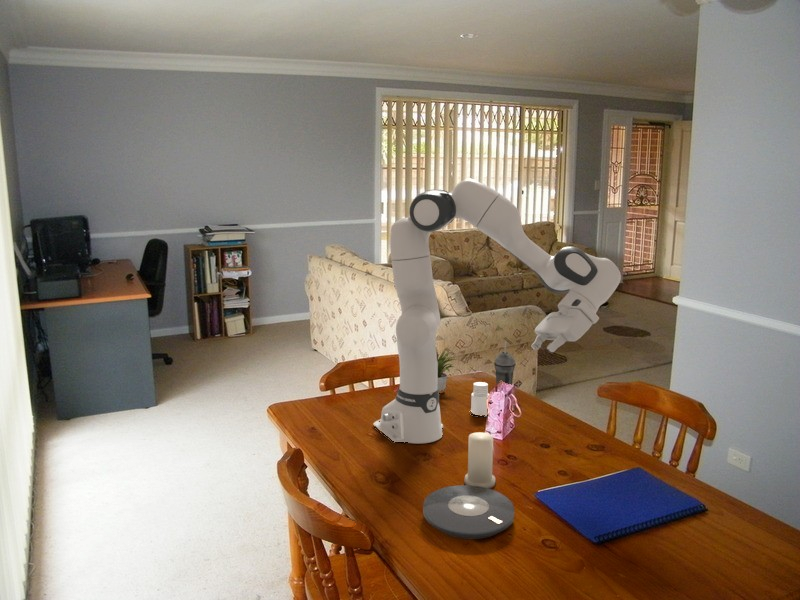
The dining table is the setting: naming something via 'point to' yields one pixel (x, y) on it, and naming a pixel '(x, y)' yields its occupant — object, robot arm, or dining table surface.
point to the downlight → (479, 398)
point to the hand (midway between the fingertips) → (541, 349)
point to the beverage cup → (504, 367)
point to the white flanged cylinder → (480, 460)
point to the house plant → (443, 369)
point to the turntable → (468, 510)
